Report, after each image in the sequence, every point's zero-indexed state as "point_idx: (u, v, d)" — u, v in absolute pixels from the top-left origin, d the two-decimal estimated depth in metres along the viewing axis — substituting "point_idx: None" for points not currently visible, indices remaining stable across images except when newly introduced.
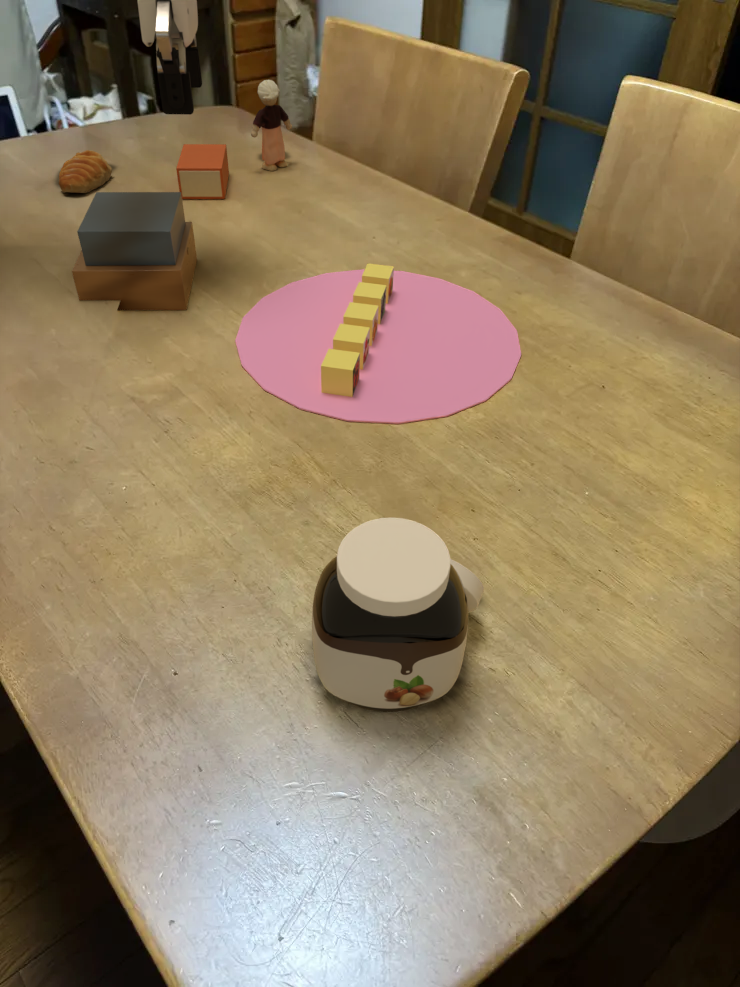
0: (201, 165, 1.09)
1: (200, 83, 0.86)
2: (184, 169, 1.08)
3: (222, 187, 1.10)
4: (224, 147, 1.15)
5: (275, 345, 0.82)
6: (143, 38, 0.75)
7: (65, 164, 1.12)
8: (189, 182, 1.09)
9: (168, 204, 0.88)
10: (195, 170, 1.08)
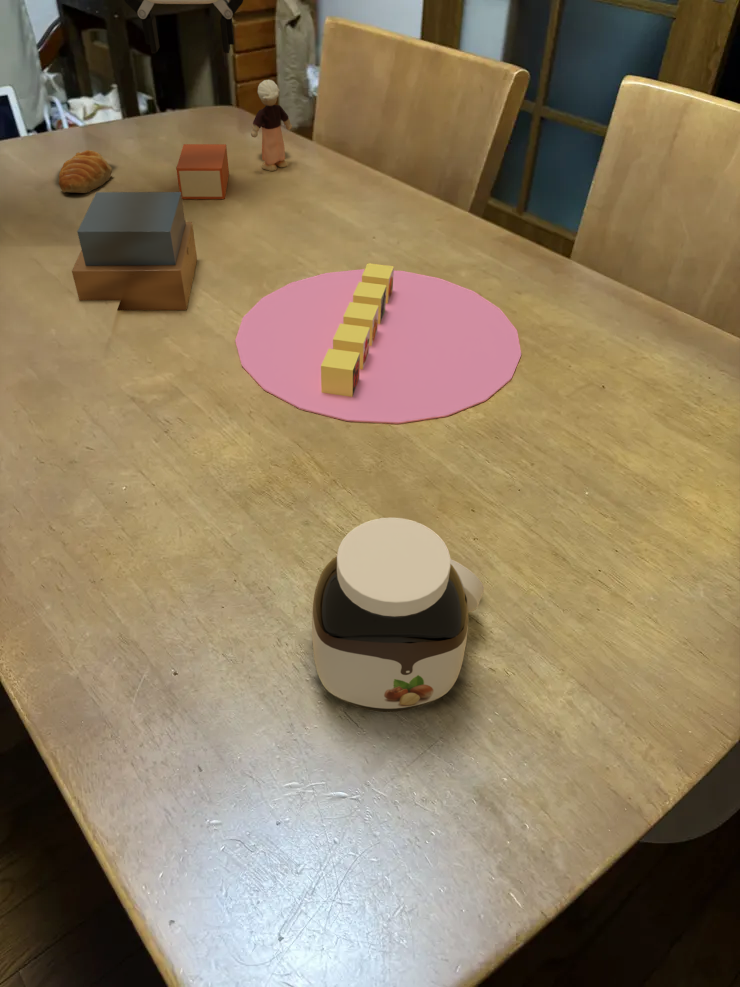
0: (201, 165, 1.09)
1: (158, 44, 1.03)
2: (184, 169, 1.08)
3: (222, 187, 1.10)
4: (224, 147, 1.15)
5: (275, 345, 0.82)
6: None
7: (65, 164, 1.12)
8: (189, 182, 1.09)
9: (168, 204, 0.88)
10: (195, 170, 1.08)
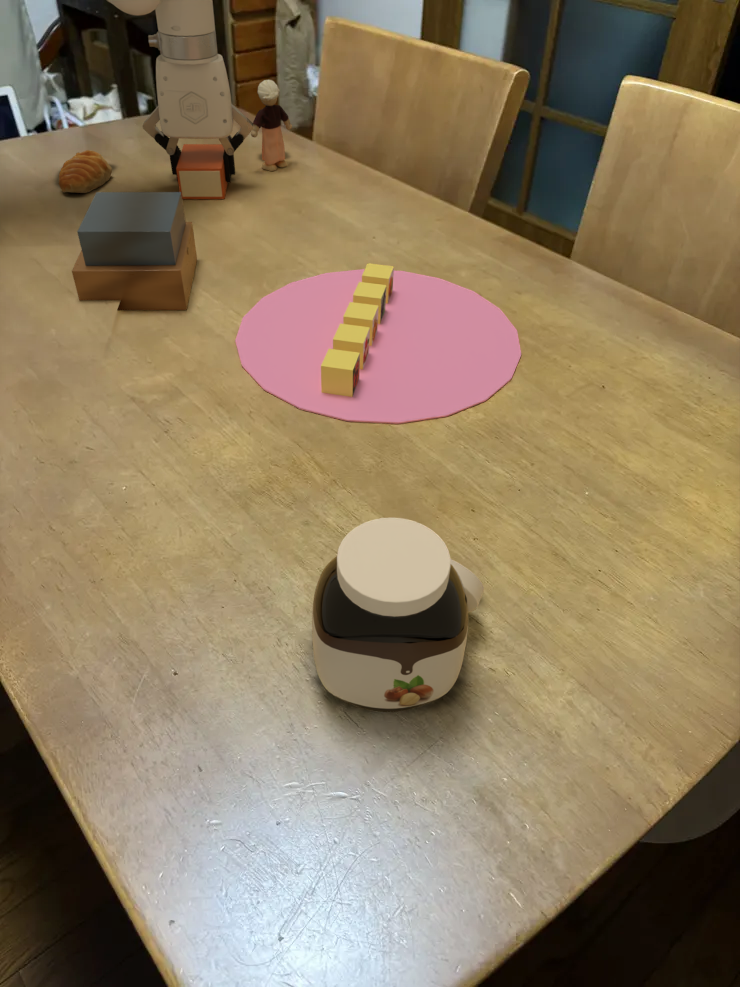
0: (201, 165, 1.09)
1: None
2: (184, 170, 1.08)
3: (222, 187, 1.10)
4: None
5: (275, 345, 0.82)
6: (229, 131, 1.08)
7: (65, 164, 1.12)
8: (189, 182, 1.09)
9: (168, 204, 0.88)
10: (195, 170, 1.08)
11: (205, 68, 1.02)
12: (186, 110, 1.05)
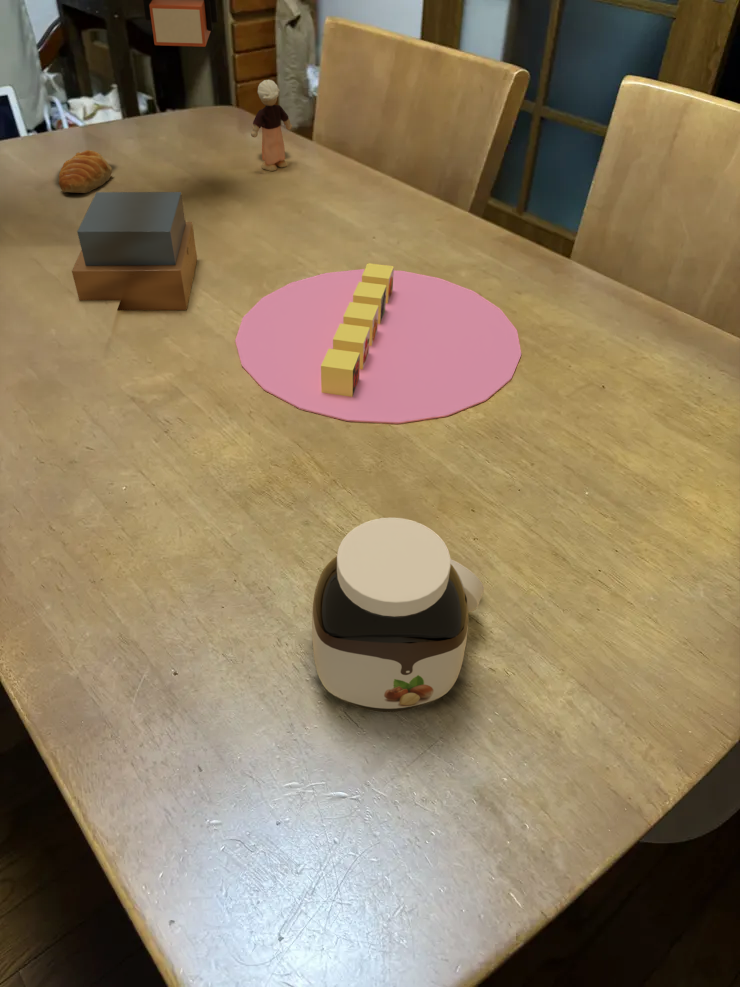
0: (178, 3, 0.95)
1: None
2: (159, 7, 0.94)
3: (202, 31, 0.96)
4: None
5: (275, 345, 0.82)
6: None
7: (65, 164, 1.12)
8: (164, 23, 0.95)
9: (168, 204, 0.88)
10: (171, 7, 0.94)
11: None
12: None
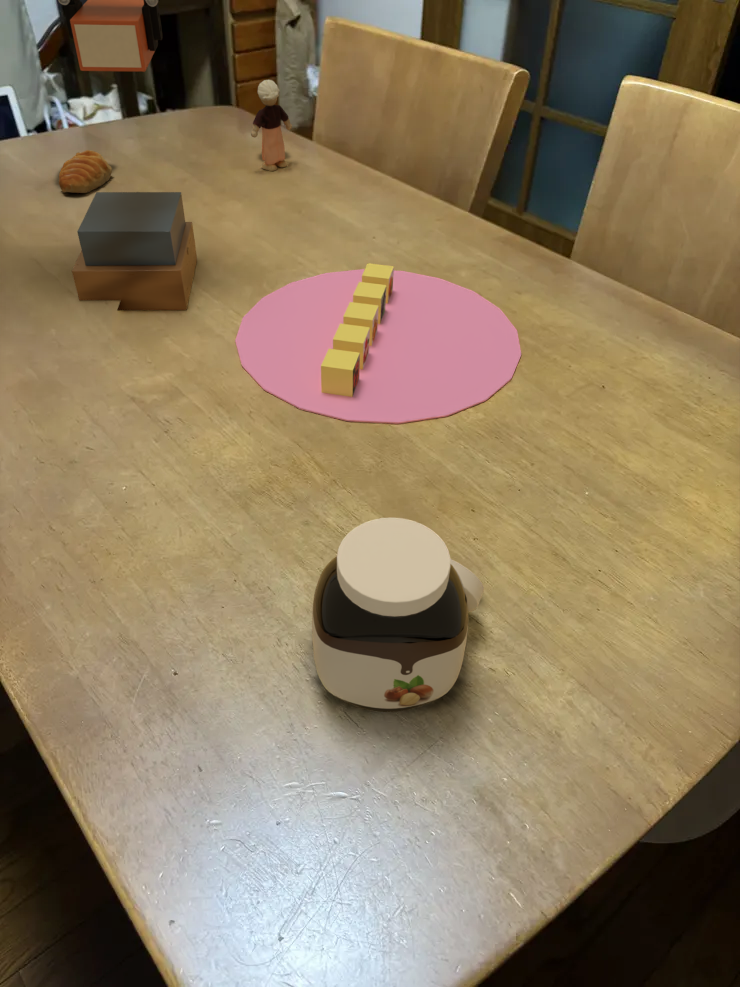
0: (107, 17, 0.74)
1: None
2: (82, 23, 0.73)
3: (140, 52, 0.76)
4: None
5: (275, 345, 0.82)
6: None
7: (65, 164, 1.12)
8: (91, 43, 0.75)
9: (168, 204, 0.88)
10: (98, 23, 0.74)
11: None
12: None
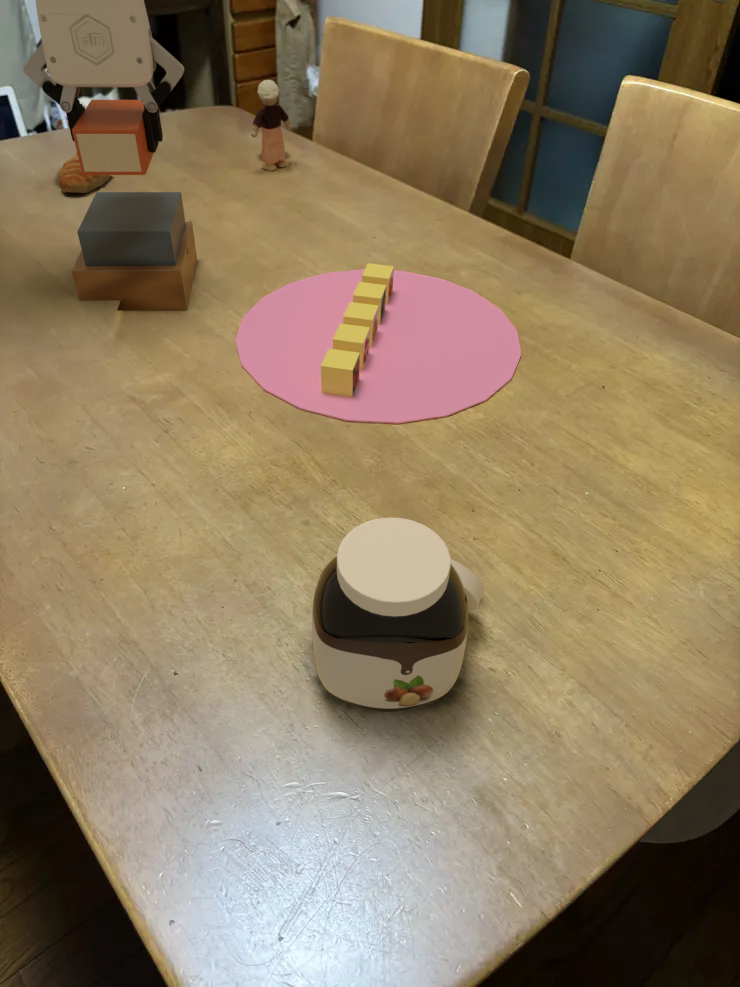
0: (108, 126, 0.76)
1: None
2: (84, 132, 0.75)
3: (140, 158, 0.78)
4: None
5: (275, 345, 0.82)
6: (148, 76, 0.75)
7: (65, 164, 1.12)
8: (92, 150, 0.77)
9: (168, 204, 0.88)
10: (99, 132, 0.76)
11: None
12: (82, 44, 0.72)
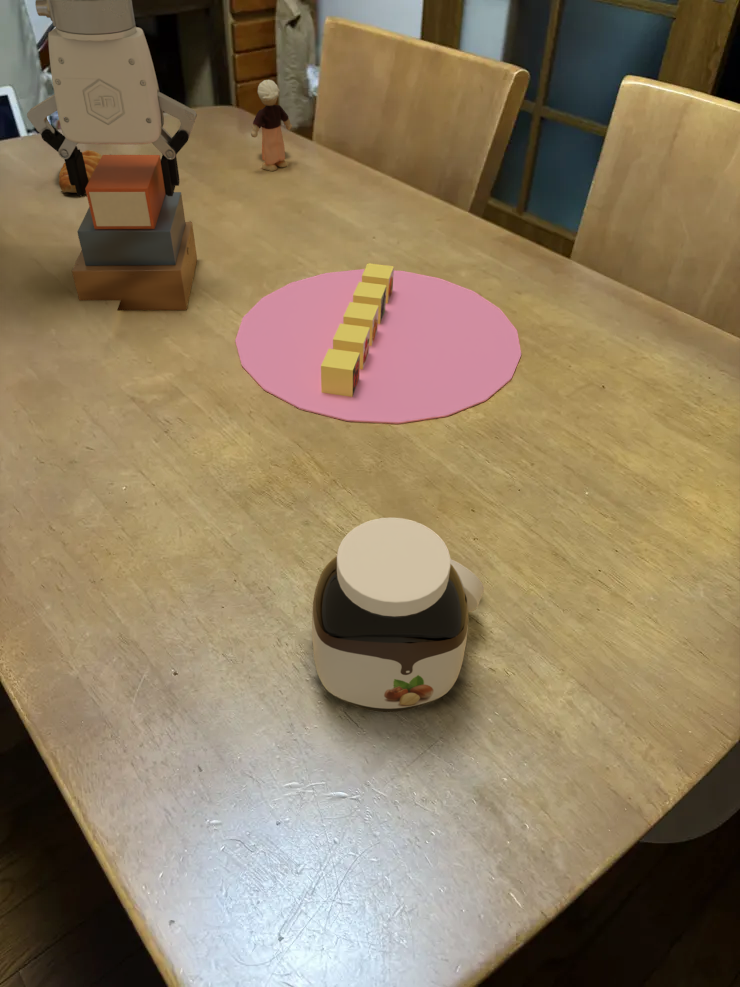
0: (120, 184, 0.80)
1: (87, 182, 0.85)
2: (97, 190, 0.79)
3: (150, 213, 0.82)
4: (156, 159, 0.86)
5: (275, 345, 0.82)
6: (156, 134, 0.78)
7: (65, 164, 1.12)
8: (104, 207, 0.81)
9: (168, 204, 0.88)
10: (111, 191, 0.80)
11: (116, 46, 0.73)
12: (94, 105, 0.76)
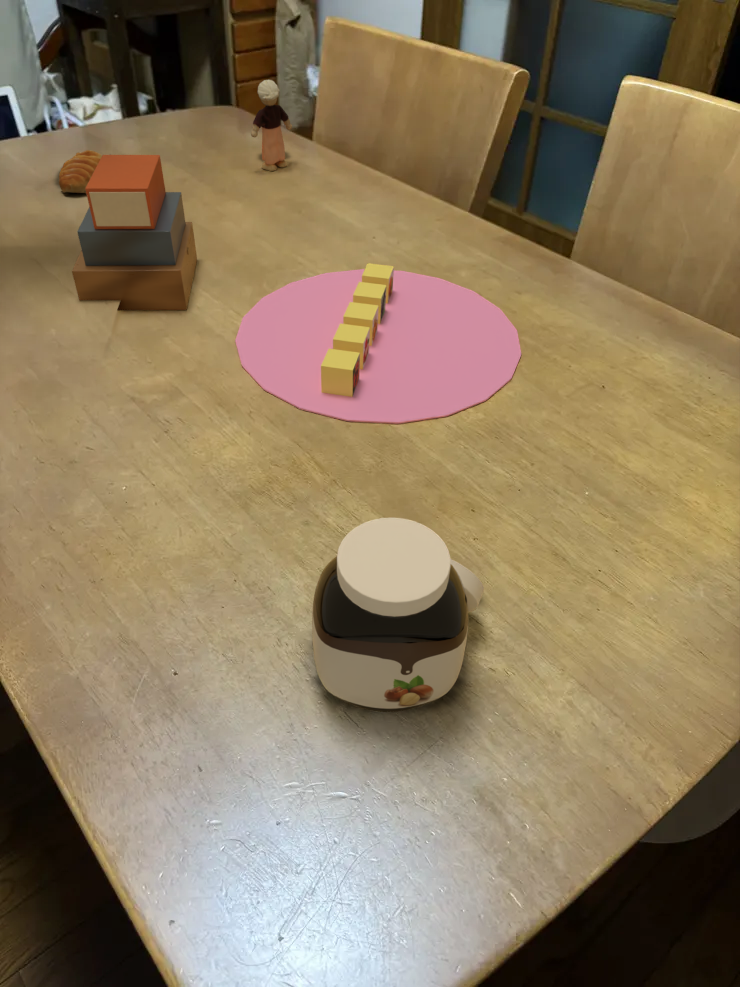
0: (120, 184, 0.80)
1: None
2: (97, 190, 0.79)
3: (150, 213, 0.82)
4: (156, 159, 0.86)
5: (275, 345, 0.82)
6: None
7: (65, 164, 1.12)
8: (104, 207, 0.81)
9: (168, 204, 0.88)
10: (111, 191, 0.80)
11: None
12: None
